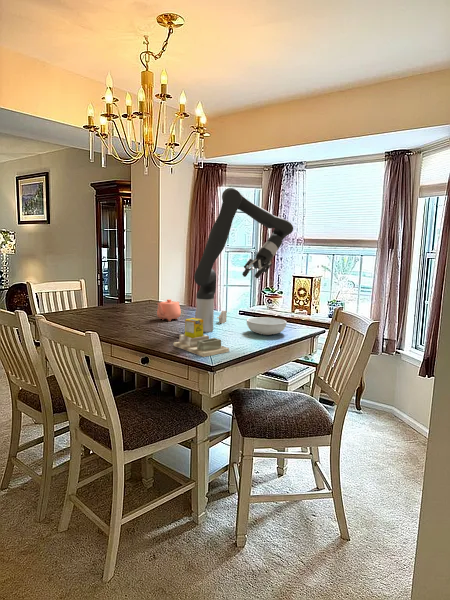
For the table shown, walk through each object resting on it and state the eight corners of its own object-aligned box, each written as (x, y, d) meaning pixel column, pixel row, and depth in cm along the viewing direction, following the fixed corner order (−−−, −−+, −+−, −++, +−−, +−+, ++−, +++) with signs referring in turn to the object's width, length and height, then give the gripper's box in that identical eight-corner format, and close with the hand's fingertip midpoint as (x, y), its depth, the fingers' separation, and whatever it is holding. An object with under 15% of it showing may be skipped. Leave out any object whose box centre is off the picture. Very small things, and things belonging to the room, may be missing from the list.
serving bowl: (294, 334, 218) (294, 321, 217) (267, 340, 204) (268, 326, 203) (264, 327, 233) (264, 315, 232) (237, 332, 219) (238, 319, 218)
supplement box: (203, 342, 189) (203, 319, 187) (194, 345, 184) (195, 320, 182) (193, 340, 192) (193, 317, 190) (184, 342, 187) (184, 319, 186)
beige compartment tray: (173, 345, 188) (173, 334, 187) (198, 341, 197) (198, 331, 196) (203, 356, 171) (203, 345, 171) (229, 351, 180) (229, 340, 180)
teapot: (171, 316, 258) (171, 296, 256) (186, 318, 252) (186, 298, 250) (149, 321, 241) (149, 300, 240) (165, 323, 235) (165, 302, 233)
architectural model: (216, 324, 240) (216, 311, 239) (222, 322, 247) (222, 309, 245) (221, 324, 239) (222, 311, 238) (227, 322, 245) (227, 310, 244)
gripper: (253, 246, 210) (235, 270, 204) (274, 247, 199) (256, 272, 194) (260, 257, 214) (243, 280, 208) (281, 258, 203) (263, 283, 198)
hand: (249, 276), depth 201 cm, fingers open, 8 cm apart
